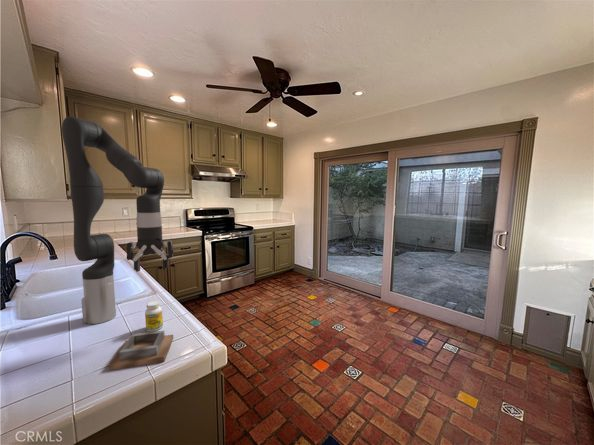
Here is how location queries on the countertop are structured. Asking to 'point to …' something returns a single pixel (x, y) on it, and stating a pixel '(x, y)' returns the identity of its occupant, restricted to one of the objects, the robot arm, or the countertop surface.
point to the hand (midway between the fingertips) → (151, 270)
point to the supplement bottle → (153, 316)
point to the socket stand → (142, 350)
